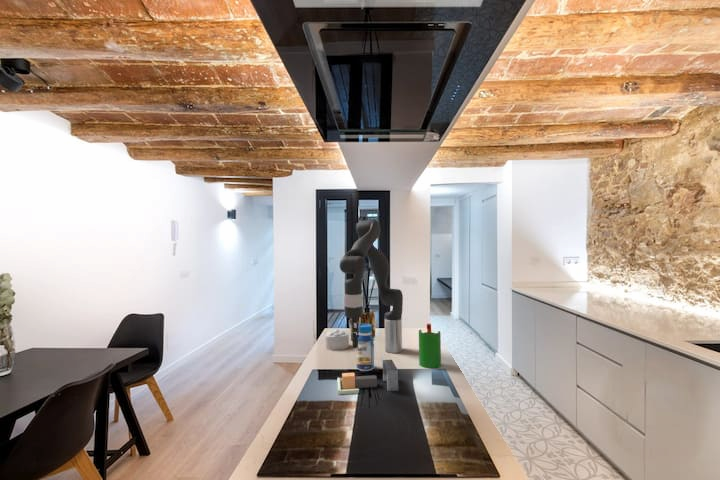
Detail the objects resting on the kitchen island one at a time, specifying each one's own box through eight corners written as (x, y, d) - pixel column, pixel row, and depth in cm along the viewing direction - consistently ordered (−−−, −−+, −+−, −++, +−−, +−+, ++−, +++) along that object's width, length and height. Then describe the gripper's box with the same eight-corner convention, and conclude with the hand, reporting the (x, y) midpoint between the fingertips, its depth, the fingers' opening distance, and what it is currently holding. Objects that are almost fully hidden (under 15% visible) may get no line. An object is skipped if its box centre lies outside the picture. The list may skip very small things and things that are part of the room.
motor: (439, 361, 159) (439, 320, 160) (442, 368, 150) (441, 325, 151) (418, 361, 160) (418, 320, 161) (420, 368, 151) (419, 324, 152)
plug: (375, 383, 135) (375, 371, 135) (377, 387, 132) (377, 374, 132) (342, 385, 134) (341, 373, 134) (342, 389, 130) (342, 376, 131)
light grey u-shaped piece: (337, 381, 138) (337, 377, 138) (356, 380, 139) (356, 376, 139) (338, 394, 126) (338, 390, 126) (358, 393, 127) (358, 389, 127)
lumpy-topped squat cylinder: (326, 344, 190) (326, 329, 190) (348, 343, 191) (348, 328, 191) (325, 350, 179) (325, 334, 180) (349, 349, 180) (348, 333, 180)
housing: (388, 391, 128) (387, 370, 128) (382, 378, 140) (382, 360, 140) (398, 390, 128) (397, 370, 129) (392, 378, 140) (391, 359, 140)
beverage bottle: (378, 368, 152) (377, 325, 152) (364, 373, 146) (363, 328, 147) (366, 363, 158) (366, 322, 158) (352, 367, 153) (352, 324, 153)
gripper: (343, 301, 141) (344, 339, 141) (345, 308, 127) (346, 350, 127) (361, 301, 142) (361, 338, 142) (364, 307, 128) (365, 349, 128)
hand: (354, 344), depth 134 cm, fingers open, 8 cm apart
